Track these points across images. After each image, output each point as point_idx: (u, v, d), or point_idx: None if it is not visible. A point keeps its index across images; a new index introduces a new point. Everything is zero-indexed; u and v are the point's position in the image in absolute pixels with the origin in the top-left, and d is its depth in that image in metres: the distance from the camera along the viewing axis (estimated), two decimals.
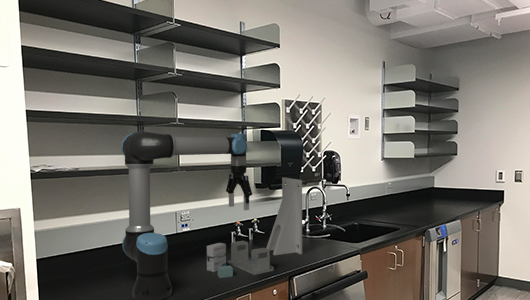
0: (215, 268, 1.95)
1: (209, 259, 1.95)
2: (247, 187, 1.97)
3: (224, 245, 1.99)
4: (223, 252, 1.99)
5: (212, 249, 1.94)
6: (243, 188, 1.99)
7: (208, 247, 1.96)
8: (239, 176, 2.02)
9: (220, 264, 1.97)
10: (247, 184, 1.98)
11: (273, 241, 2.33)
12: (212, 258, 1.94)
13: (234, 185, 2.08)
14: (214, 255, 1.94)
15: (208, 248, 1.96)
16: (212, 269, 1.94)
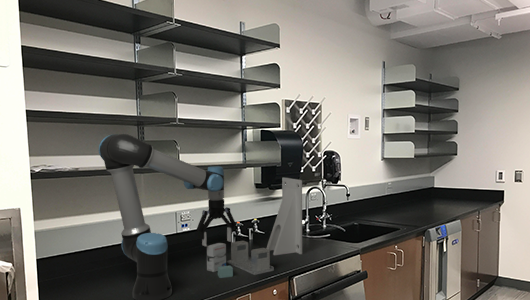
0: (215, 268, 1.95)
1: (209, 259, 1.95)
2: (199, 222, 1.94)
3: (224, 245, 1.99)
4: (223, 252, 1.99)
5: (212, 249, 1.94)
6: (204, 223, 1.96)
7: (208, 247, 1.96)
8: None
9: (220, 264, 1.97)
10: (201, 219, 1.94)
11: (273, 241, 2.33)
12: (212, 258, 1.94)
13: (223, 219, 2.01)
14: (214, 255, 1.94)
15: (208, 248, 1.96)
16: (212, 269, 1.94)
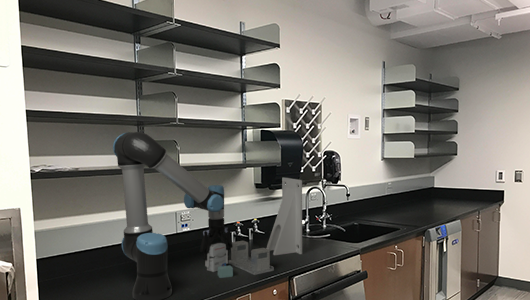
0: (215, 268, 1.95)
1: (209, 259, 1.95)
2: (201, 243, 1.94)
3: (224, 245, 1.99)
4: (223, 252, 1.99)
5: (212, 249, 1.94)
6: (206, 243, 1.96)
7: None
8: None
9: (220, 264, 1.97)
10: (203, 240, 1.94)
11: (273, 241, 2.33)
12: (212, 258, 1.94)
13: (221, 239, 2.00)
14: (214, 255, 1.94)
15: None
16: (212, 269, 1.94)
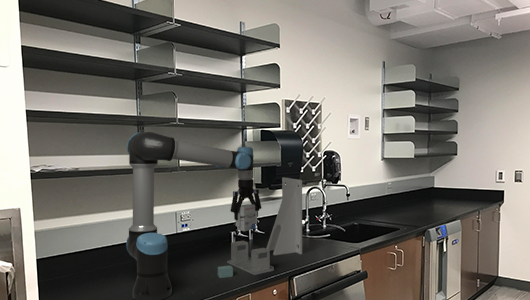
0: (246, 228, 1.98)
1: (240, 219, 1.99)
2: (232, 203, 1.98)
3: (253, 206, 2.03)
4: (253, 212, 2.02)
5: (242, 209, 1.97)
6: (236, 204, 2.00)
7: None
8: None
9: (250, 224, 2.01)
10: (233, 200, 1.98)
11: (273, 241, 2.33)
12: (243, 218, 1.98)
13: (251, 200, 2.03)
14: (244, 215, 1.98)
15: None
16: (243, 228, 1.98)
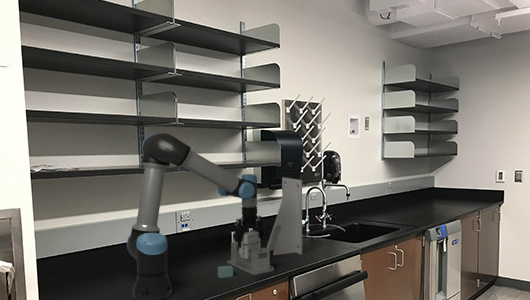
0: (249, 255, 1.99)
1: (243, 246, 1.99)
2: (236, 231, 1.98)
3: (257, 233, 2.03)
4: (256, 239, 2.03)
5: (246, 236, 1.98)
6: (240, 231, 2.00)
7: None
8: None
9: None
10: (237, 228, 1.98)
11: (273, 241, 2.33)
12: (246, 245, 1.98)
13: (254, 227, 2.04)
14: (248, 242, 1.98)
15: None
16: (246, 256, 1.98)
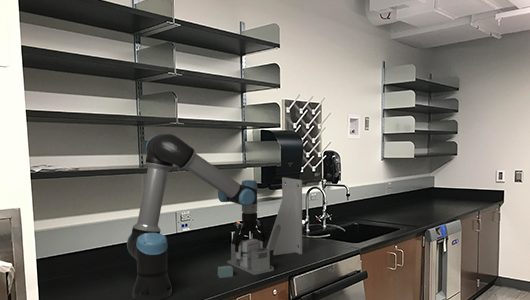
0: (249, 264, 1.99)
1: (243, 255, 1.99)
2: (234, 235, 1.98)
3: (257, 241, 2.03)
4: (256, 247, 2.03)
5: (246, 245, 1.98)
6: (238, 236, 2.00)
7: (241, 243, 2.00)
8: None
9: None
10: (235, 233, 1.98)
11: (273, 241, 2.33)
12: (246, 253, 1.98)
13: (255, 232, 2.04)
14: (247, 251, 1.98)
15: (241, 244, 2.00)
16: (246, 264, 1.98)
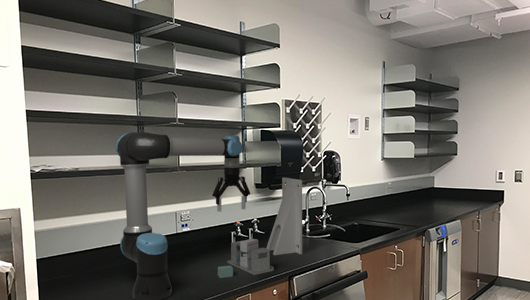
0: (249, 264, 1.99)
1: (243, 255, 1.99)
2: (215, 188, 2.00)
3: (257, 241, 2.03)
4: (256, 247, 2.03)
5: (246, 245, 1.98)
6: (220, 189, 2.02)
7: (241, 243, 2.00)
8: None
9: None
10: (217, 185, 2.00)
11: (273, 241, 2.33)
12: (246, 253, 1.98)
13: (238, 187, 2.07)
14: (247, 251, 1.98)
15: (241, 244, 2.00)
16: (246, 264, 1.98)
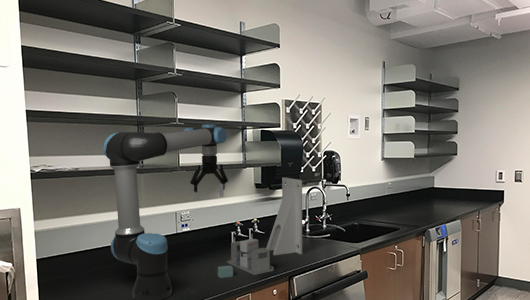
0: (249, 264, 1.99)
1: (243, 255, 1.99)
2: (193, 176, 2.05)
3: (257, 241, 2.03)
4: (256, 247, 2.03)
5: (246, 245, 1.98)
6: (198, 177, 2.07)
7: (241, 243, 2.00)
8: None
9: None
10: (195, 173, 2.05)
11: (273, 241, 2.33)
12: (246, 253, 1.98)
13: (216, 175, 2.12)
14: (247, 251, 1.98)
15: (241, 244, 2.00)
16: (246, 264, 1.98)
